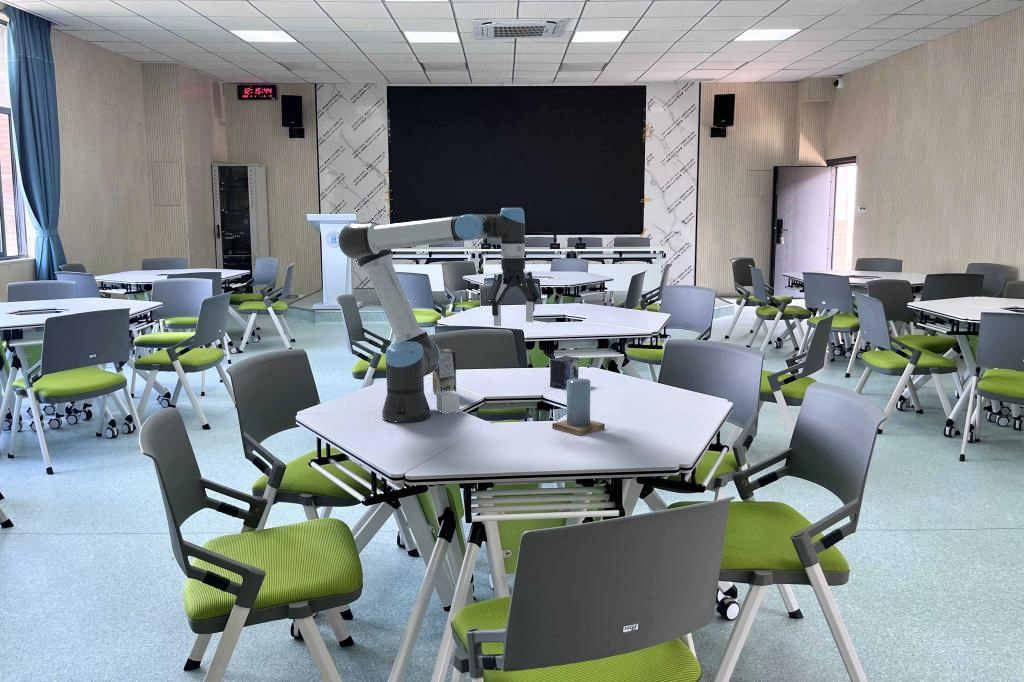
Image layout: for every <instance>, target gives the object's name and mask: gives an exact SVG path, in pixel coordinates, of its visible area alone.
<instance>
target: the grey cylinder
mask: <svg viewBox="0 0 1024 682" xmlns="http://www.w3.org/2000/svg"><path fill="white" fill-rule="evenodd" d="M566 420H567V425H569V426H575V427H583V426H588V425H590V420H591V380H590V379H588V378H579V377H578V378H577V379H569V380H567V388H566Z"/></svg>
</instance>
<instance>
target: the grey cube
mask: <svg viewBox="0 0 1024 682" xmlns="http://www.w3.org/2000/svg"><path fill="white" fill-rule="evenodd" d="M435 396H436V410H437V409H438V410H439V411H441V412H442V413H445V414H448V413H447V412H454V413H457V412H456V411H460V412H461V404H460V399H461V398H460V393H459V392H457V391H456V392H455V391H445V392H436V395H435ZM438 410H437V411H438ZM439 411H438V412H439ZM441 412H440V413H441ZM442 413H441V414H442Z"/></svg>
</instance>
